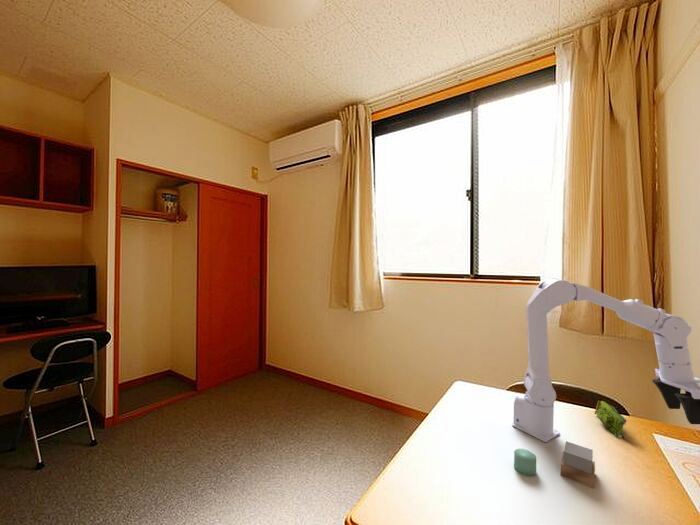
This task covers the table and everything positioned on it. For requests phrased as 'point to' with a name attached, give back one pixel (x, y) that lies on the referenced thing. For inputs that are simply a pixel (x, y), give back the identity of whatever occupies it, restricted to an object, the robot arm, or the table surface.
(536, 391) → the robot arm
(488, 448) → the table surface
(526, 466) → the green cylinder
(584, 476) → the walnut block
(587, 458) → the gray block
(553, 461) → the table surface
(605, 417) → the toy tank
